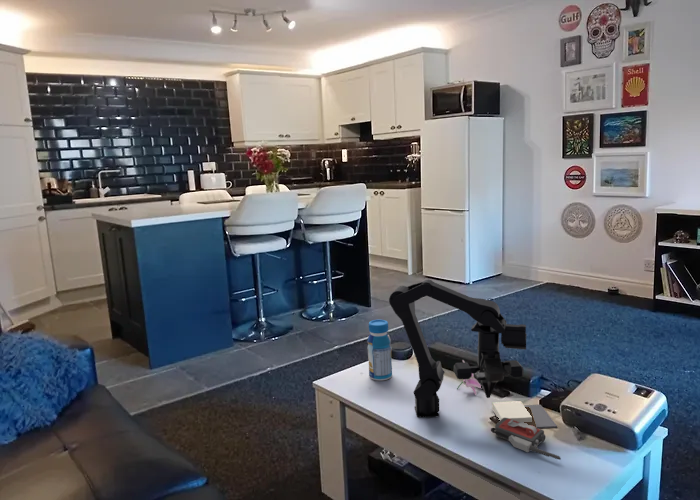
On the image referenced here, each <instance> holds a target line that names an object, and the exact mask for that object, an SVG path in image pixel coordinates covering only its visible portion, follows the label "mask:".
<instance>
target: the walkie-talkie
mask: <svg viewBox="0 0 700 500" xmlns="http://www.w3.org/2000/svg"><path fill="white" fill-rule="evenodd" d="M490 433H493V434H495V436H496V437H497V438H501V439H503V440H506V441H508V442H509V443H511V445H512V447H514V448H516V449H519V450H522V451H524V452H526V453H529V452H533V453H534V452H535V453H537V454H540V455H543V456H546V457H550V458H553V459H556V460H561V459H562V458H561V456H559V455H557V454H554V453H551V452H549V451H546V450H543V449H540V448H538V446H539V445H540V444H541V443H544V442H545V441H546V434H545V430H543V429H542V428H536V427H535V426H533V425H528V424H527V423H524V422H518V421H515V420H512V419H509V418H503V419H502V420H500V421H499V420H498V422H497V423H496V424H495V425H494V427H491V428H490Z"/></svg>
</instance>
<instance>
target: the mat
mask: <svg viewBox="0 0 700 500" xmlns="http://www.w3.org/2000/svg"><path fill="white" fill-rule="evenodd" d="M523 405H524V404H523ZM524 406H525V407H529V408H531V410H532V413H533V416H534V420H535V423H536V427H537V428H538V429H550V428H551V429H553V428H558V425H557V424H556V423H555V421H554V420H553V419H552V417H551V416H550V415H549V413H548V412H547V411H546V409H545V408H544V407H543V406H542V405H541V404H525V405H524Z"/></svg>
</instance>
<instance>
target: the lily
mask: <svg viewBox="0 0 700 500" xmlns="http://www.w3.org/2000/svg"><path fill="white" fill-rule="evenodd" d="M463 362H465V360H464V359H462V363H463ZM462 380H463V381H462V382H460V384H459V385H458V386H457V388H456V390H458V389H459V388H460V387H461V386H462V384H463V383H465V387H466V388H470V389H472V391H473V393H474V395H475V396H477V390H476V388H477V389H478V388H479V389H483V387H482V388H481V386H482V384H480V383H481V382H480V381H478V380H477V379H476V377H475V375H474V374H473V373H472V376H471V377H470V378H469V379H462Z"/></svg>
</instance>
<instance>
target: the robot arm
mask: <svg viewBox="0 0 700 500" xmlns="http://www.w3.org/2000/svg"><path fill="white" fill-rule="evenodd" d="M425 297H429V298H431V299H433V300H436V301H439V302H441V303H443V304H445V305H447V306H451V307H452V308H455V309H457V310H460V311H462V312H464V313H466V314H467V315H469V316H470V317H471V318H472V319H473V320H474V321H476V322H475V324H472V326H471V329H470V331H471V332H477V339H478V340H477V347H476V348H477V349H476V350H477V360H476V361H477V362H476V363H477V365H475V366H474V365H472V366H470V364H469V362H466V361H464V362H463V361H462V362H455V364H454V365H453V373H454V375H455V377H456V378H457V379H459V380H464V379H469V378H470V377H471V376H472V373H473V374H474V378H475V379H476V380H477V381H478V382H480V383H481V384H480V385H481V386H482V389H483V392H484V395H485V397H486V398H487V399H490V398H491V395H492V393H493V391H494V388H495V386H496V385H497V383H499V382H503V381H504V379H505V377H509V376H511V377H513V378H523V377H524V374H525V373H524V366H522V364H520V362H519V361H518V360H517V359H516V360H504V361H502V360H501V353H500V348H499V347H500V344H501V345H502V346H503V347H504V348H505V349H511V350H512V349H514V350H527V330H526V329H527V325H526V324H525V323H524V324H523V323H522V324H511V323H507V320H506V319H505V318H504V316H503V315H502V314H501V311H500V307H499V305H498V304H497V303H496V302H494V300H493V301H492V300H489V299H485V298H480V297H479V298H477V297H471V296H468V295H466V294H463V293H461V292H458V291H456V290H454V289H451V288H450V287H447V286H445V285H442V284H440V283H437V282H435V281H433V280H432V279H424V280H423V281H420V282H417V283H413V284H411V285H409V286H405V285H401V286H398V287H397V288H396V289H395V290H393V292H392V293H391V294H390V296H389V298H388V302H389V305H390V307H391V309H392V310H393V312H394V314H395V316H397V317H398V318H399V320H401V323H402V325H403V327H404V331H405V334H406V335H407V338H408V342H409V343H410V346H411V350H412V352H413V354H414V356H415V360H416V363H417V364H418V365H417V366H418V379H419V380H418V382H417V384H416V386H415V388H414V391H413V396H414V401H415V402H414V403H415V404H414V410H415V415H416V418H435V417H439V416H440V414H439V412H440V398H439V396H438V394H437V392H439V390H440V389H441V387H442V383H443V381H444V375H445V370H444V369H443V367H442V363H441V360H437V361H435V359H433V357H432V356H431V352H430V350H429V347H428V345H427V344H428V343H427V342H426V339H425V336H424V333H423V331H422V328H421V326H420V323H419V321H418V317H417V316H416V315H417V314H416V305H415V304H416V303H415V302H416V301H418V300H420V299H423V298H425ZM500 334H501V336H500ZM500 337H501V338H500ZM500 339H501V341H500Z"/></svg>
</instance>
